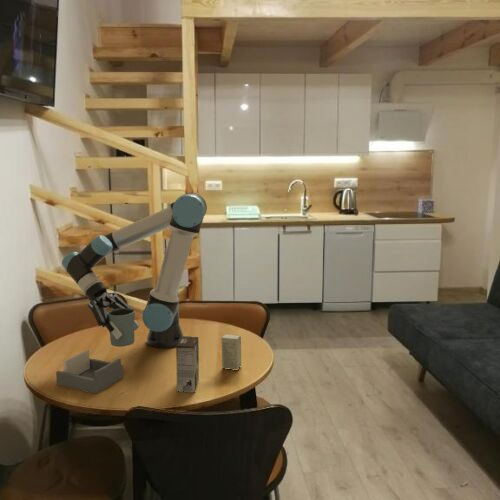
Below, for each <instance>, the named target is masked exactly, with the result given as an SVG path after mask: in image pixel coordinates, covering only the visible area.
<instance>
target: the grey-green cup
mask: <svg viewBox="0 0 500 500" xmlns="http://www.w3.org/2000/svg"><path fill="white" fill-rule="evenodd" d="M131 308H132V307H131ZM131 308H118V309H113V308H112V309H111V310H107V315H108V318H109V322H110V321H112V322H113V323H114V325H115V326H116V327H117V328H118V330H119V331H120V332H121V333H122V336H121V337H120V338H119V339H116V338H115V336H114V335H113V334H112V333H111V332H110V331H109V330H108V332H109V338H110V339H109V340H110V345H112V346H114V347H128V346H131V345H133V344H134V343H135V331H136V330H135V329H134V327H135V324H134V323H135V322H134V319H135V318H136V310H135V309H134V308H132V309H131ZM135 320H136V319H135Z"/></svg>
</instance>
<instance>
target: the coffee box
mask: <svg viewBox="0 0 500 500" xmlns="http://www.w3.org/2000/svg"><path fill="white" fill-rule="evenodd" d="M175 348H176V349H175V350H176V352H175V355H176V357H175V358H176V360H175V361H176V393H193V392H195V391H196V392H197V389H196V388H198V385H199V382H198V381H200V367H199V365H200V361H199V359H200V358H199V356H200V355H199V354H200V353H199V352H200V351H199V350H200V349H199V337H198V336H189V335H188V336H184V335H183V336H181V337H180V339H179V341H178V343H177V345H176V346H175ZM178 391H179V392H178ZM183 391H184V392H183ZM196 392H195V393H196Z"/></svg>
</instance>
